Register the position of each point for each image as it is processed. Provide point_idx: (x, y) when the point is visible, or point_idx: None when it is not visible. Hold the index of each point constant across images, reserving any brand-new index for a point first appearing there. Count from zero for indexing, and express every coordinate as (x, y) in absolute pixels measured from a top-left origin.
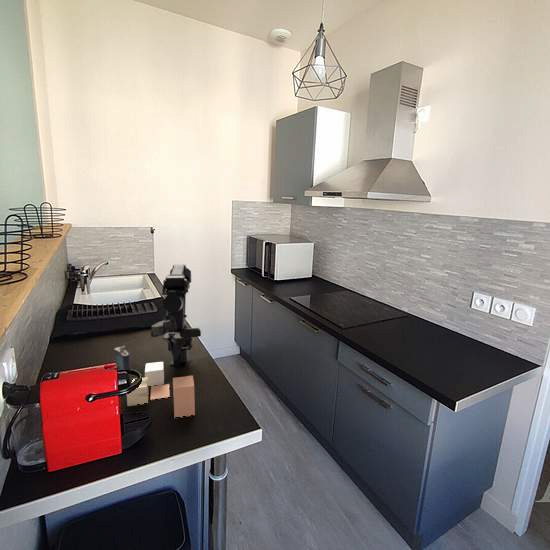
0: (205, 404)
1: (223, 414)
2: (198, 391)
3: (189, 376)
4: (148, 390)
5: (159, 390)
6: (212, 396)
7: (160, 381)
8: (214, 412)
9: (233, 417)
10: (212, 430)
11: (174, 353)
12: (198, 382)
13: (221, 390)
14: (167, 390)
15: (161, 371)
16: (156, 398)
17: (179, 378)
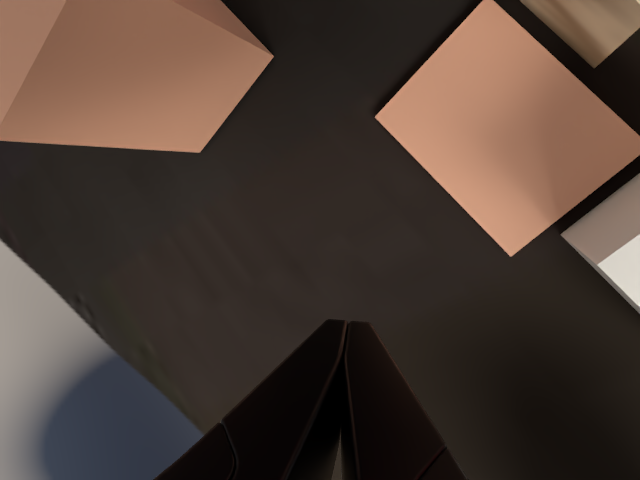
0: (151, 188)
1: (44, 167)
2: (264, 280)
3: (2, 106)
4: (588, 46)
5: (515, 136)
6: (168, 273)
7: (592, 219)
8: (80, 156)
9: (5, 173)
10: None
11: (309, 360)
12: None
13: (166, 347)
14: (452, 173)
15: (609, 246)
16: (450, 39)
17: (36, 2)
